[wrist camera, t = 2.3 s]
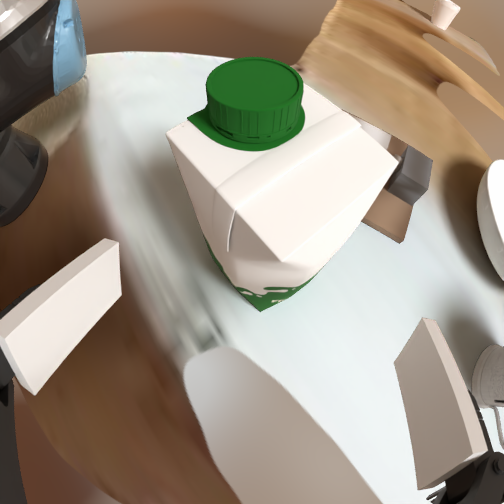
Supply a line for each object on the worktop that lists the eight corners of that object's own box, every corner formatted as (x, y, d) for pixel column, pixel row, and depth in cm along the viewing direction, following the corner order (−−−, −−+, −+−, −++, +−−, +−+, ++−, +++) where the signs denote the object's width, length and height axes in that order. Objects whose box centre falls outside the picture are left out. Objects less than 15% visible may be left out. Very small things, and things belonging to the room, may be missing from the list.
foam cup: (423, 17, 58) (432, -8, 46) (433, 19, 60) (442, -5, 47) (443, 32, 55) (455, 6, 43) (452, 32, 57) (463, 9, 45)
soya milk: (268, 206, 30) (290, 35, 11) (326, 269, 28) (438, 140, 9) (201, 255, 28) (133, 101, 10) (259, 326, 26) (290, 275, 7)
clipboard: (210, 148, 33) (205, 120, 28) (266, 85, 37) (268, 59, 32) (399, 243, 29) (421, 226, 24) (420, 158, 34) (436, 137, 29)
